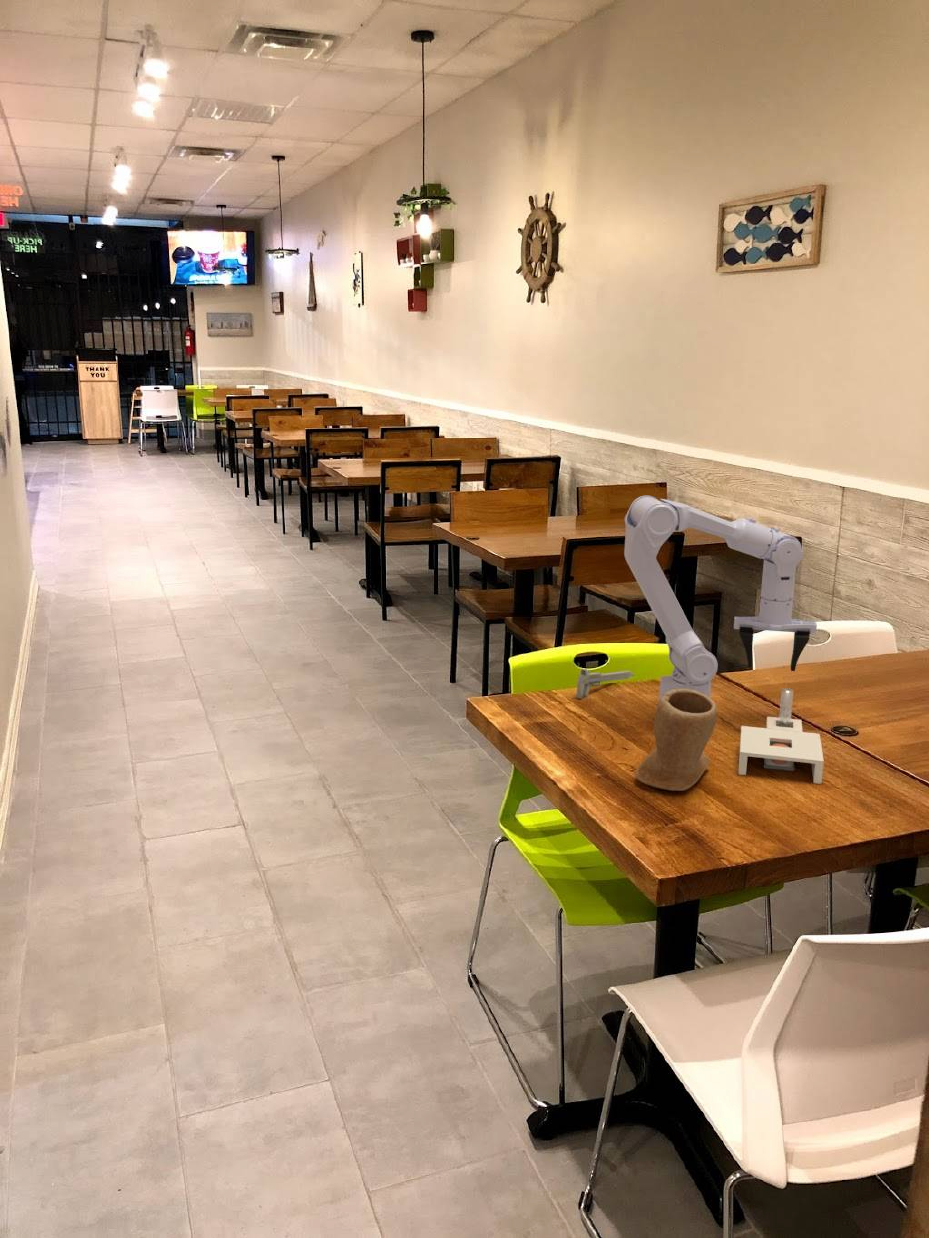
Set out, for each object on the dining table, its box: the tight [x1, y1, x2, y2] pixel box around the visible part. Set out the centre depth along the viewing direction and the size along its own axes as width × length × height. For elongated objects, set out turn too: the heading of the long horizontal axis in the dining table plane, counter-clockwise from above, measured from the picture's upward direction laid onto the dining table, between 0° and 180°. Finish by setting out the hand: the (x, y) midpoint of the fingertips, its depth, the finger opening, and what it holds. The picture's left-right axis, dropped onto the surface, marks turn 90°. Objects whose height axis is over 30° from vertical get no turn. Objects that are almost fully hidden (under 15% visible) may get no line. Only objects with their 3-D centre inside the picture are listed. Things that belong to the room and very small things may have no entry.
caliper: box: [576, 668, 635, 700], centre depth 201 cm, size 20×1×6 cm, turn 139°
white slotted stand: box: [737, 725, 825, 785], centre depth 163 cm, size 13×12×4 cm
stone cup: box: [635, 689, 718, 792], centre depth 157 cm, size 15×12×15 cm
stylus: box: [778, 688, 794, 728], centre depth 174 cm, size 2×2×9 cm
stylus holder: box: [765, 716, 804, 732], centre depth 175 cm, size 6×6×2 cm
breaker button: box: [763, 744, 795, 772], centre depth 163 cm, size 5×5×3 cm
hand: (771, 667), depth 181 cm, fingers open, 7 cm apart
